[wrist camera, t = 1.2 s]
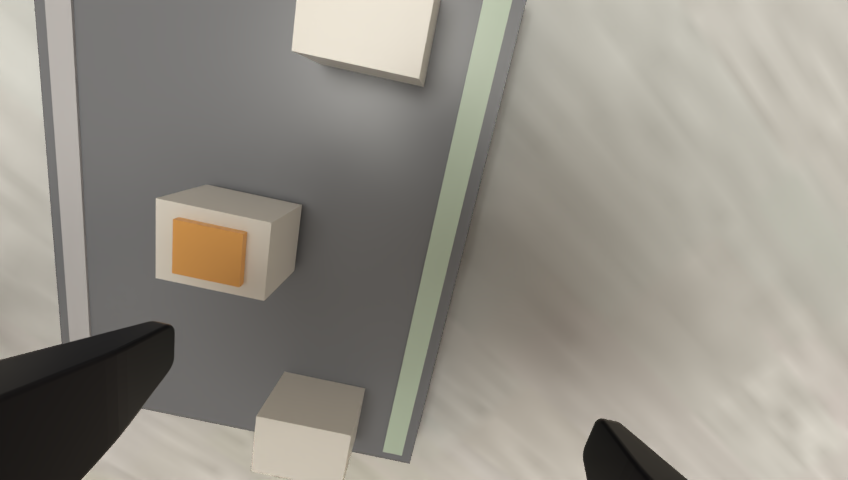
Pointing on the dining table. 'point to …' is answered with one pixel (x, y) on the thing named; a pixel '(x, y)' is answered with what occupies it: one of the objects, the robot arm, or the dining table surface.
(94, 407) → the robot arm
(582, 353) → the dining table surface
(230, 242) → the switch
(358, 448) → the switch panel
